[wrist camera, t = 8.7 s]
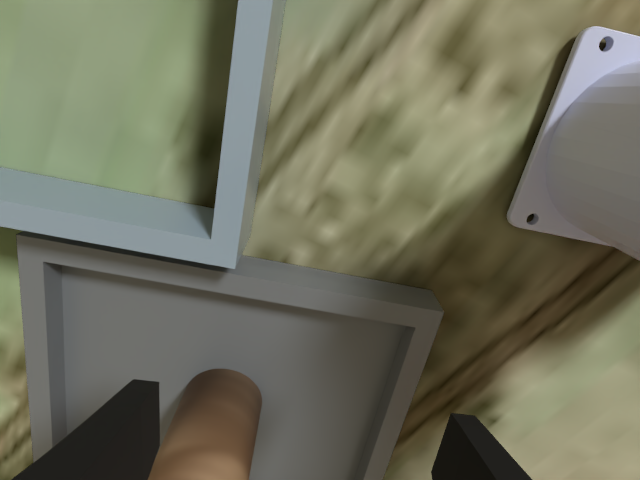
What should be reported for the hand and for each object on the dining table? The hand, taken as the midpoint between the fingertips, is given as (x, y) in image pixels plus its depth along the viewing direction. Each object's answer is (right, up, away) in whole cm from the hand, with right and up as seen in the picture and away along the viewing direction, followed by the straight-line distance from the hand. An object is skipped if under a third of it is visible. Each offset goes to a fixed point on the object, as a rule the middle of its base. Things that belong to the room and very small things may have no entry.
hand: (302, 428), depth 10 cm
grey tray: (-5, -3, +11) cm, 13 cm away
